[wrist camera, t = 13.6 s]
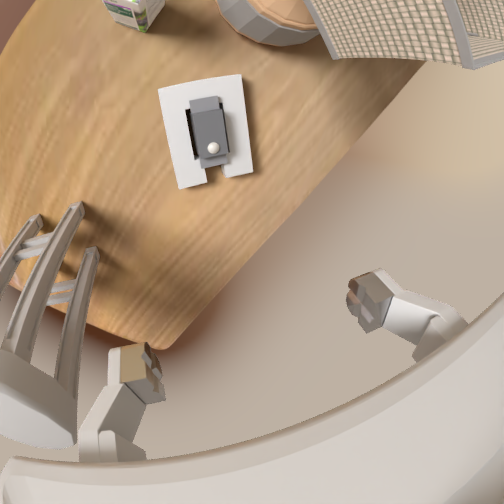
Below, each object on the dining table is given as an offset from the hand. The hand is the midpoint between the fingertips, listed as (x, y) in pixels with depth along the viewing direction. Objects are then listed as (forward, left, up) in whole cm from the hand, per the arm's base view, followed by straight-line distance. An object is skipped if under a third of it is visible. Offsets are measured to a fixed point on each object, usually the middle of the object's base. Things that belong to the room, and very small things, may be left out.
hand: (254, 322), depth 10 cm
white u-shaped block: (-1, +4, -37) cm, 37 cm away
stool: (+10, -25, -37) cm, 46 cm away
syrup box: (-23, -3, -37) cm, 44 cm away
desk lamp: (-23, +17, -37) cm, 47 cm away
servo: (-1, +4, -37) cm, 37 cm away
